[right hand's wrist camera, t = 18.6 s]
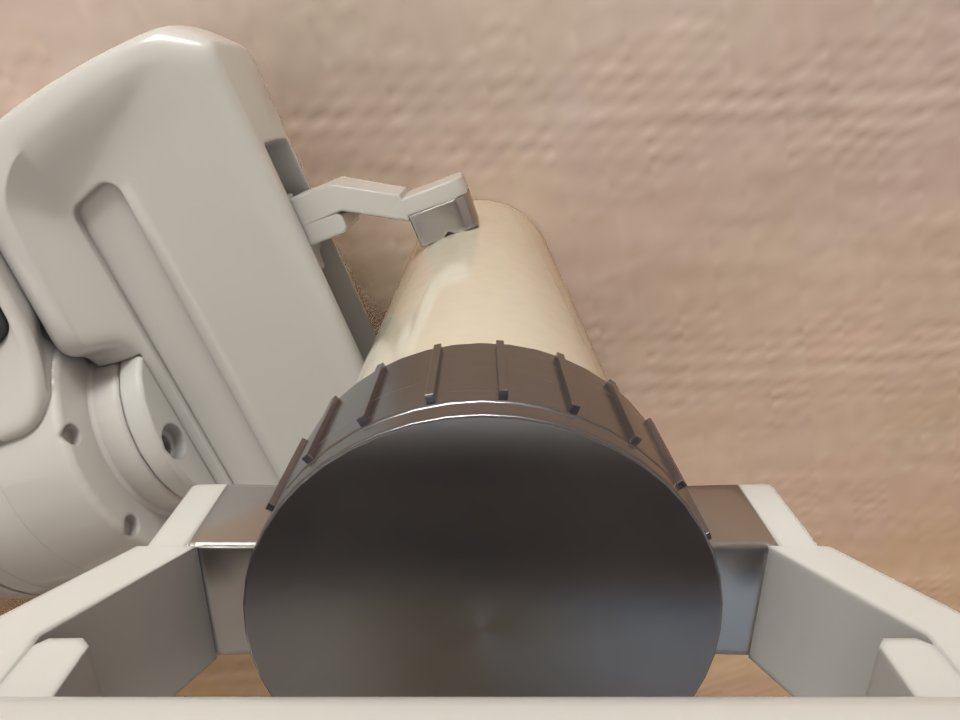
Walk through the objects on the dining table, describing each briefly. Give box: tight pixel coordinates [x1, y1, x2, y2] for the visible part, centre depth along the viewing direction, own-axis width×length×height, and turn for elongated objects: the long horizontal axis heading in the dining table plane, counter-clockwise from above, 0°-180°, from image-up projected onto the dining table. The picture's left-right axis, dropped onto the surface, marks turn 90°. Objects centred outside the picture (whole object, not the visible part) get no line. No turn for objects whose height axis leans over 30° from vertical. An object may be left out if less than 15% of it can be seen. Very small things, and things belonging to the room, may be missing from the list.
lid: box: [243, 340, 723, 697], centre depth 9 cm, size 6×6×2 cm
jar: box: [355, 200, 608, 384], centre depth 17 cm, size 5×5×18 cm
